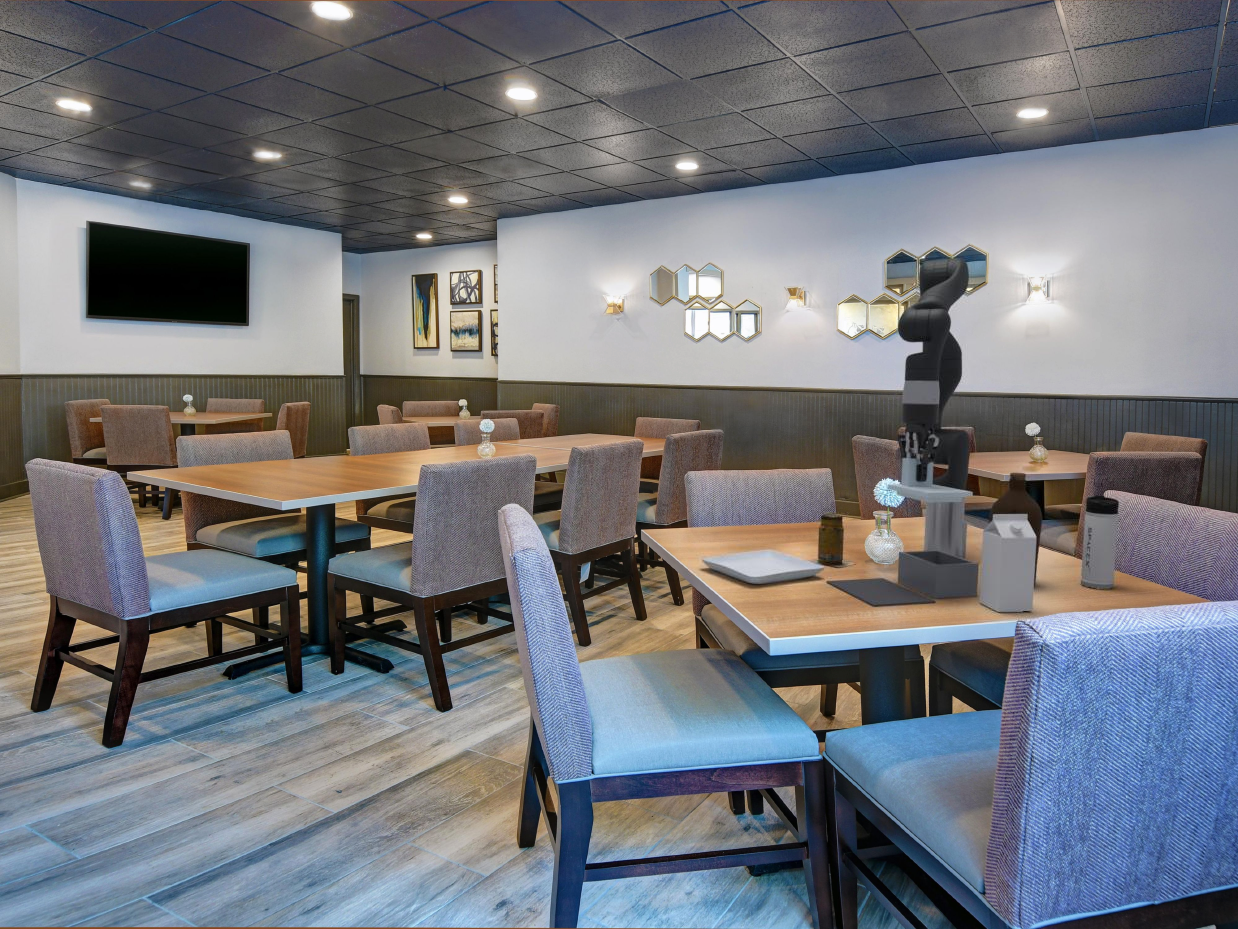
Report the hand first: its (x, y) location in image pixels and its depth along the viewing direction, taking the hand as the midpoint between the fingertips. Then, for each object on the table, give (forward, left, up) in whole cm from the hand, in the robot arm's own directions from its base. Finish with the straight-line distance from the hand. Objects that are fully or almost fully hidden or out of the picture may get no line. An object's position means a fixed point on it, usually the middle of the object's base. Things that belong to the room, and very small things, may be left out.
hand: (916, 480), depth 179 cm
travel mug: (-40, +9, -24) cm, 47 cm away
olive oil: (-23, +3, -24) cm, 33 cm away
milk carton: (-8, +20, -24) cm, 32 cm away
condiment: (+7, -24, -24) cm, 34 cm away
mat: (+11, +4, -23) cm, 26 cm away
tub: (-3, +4, -23) cm, 24 cm away
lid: (0, +5, -3) cm, 6 cm away
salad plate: (+29, -17, -24) cm, 41 cm away
